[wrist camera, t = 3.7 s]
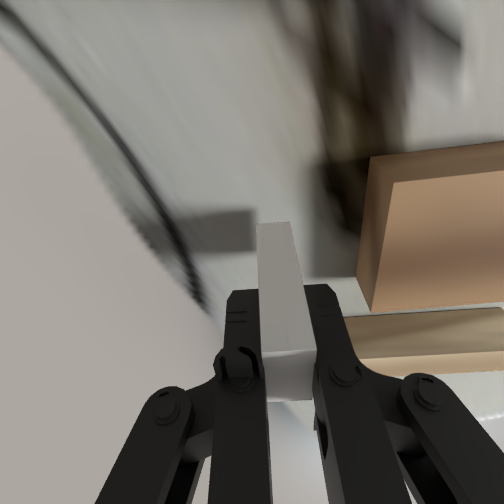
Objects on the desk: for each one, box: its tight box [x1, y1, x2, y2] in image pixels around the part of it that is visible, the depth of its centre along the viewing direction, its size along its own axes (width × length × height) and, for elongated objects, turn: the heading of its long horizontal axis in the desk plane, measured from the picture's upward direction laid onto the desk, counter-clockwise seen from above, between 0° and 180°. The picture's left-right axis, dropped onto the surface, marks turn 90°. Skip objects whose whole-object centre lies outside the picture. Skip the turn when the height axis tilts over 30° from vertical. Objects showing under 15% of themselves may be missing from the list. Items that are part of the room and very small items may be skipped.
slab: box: [356, 141, 504, 313], centre depth 14 cm, size 7×7×3 cm
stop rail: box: [344, 308, 504, 377], centre depth 19 cm, size 2×12×3 cm, turn 95°
